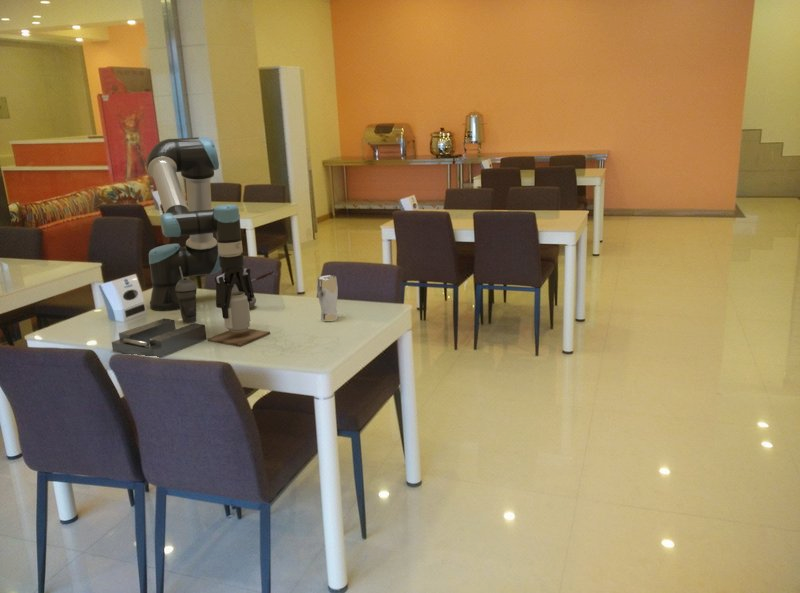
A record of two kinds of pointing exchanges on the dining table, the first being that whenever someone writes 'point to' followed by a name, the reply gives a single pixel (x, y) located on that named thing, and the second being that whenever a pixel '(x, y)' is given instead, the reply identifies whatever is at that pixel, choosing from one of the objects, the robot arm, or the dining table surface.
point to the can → (239, 311)
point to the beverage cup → (186, 299)
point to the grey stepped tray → (159, 338)
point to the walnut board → (238, 337)
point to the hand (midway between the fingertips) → (237, 324)
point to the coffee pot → (253, 281)
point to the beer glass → (328, 297)
